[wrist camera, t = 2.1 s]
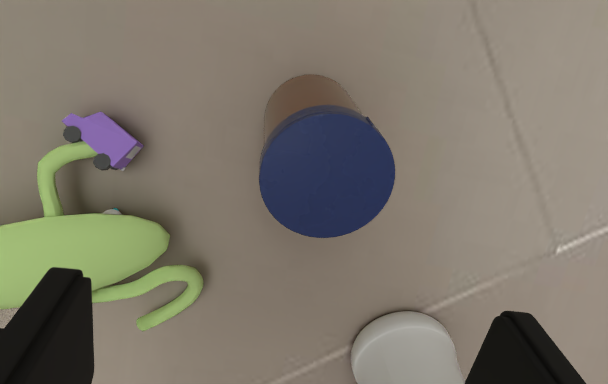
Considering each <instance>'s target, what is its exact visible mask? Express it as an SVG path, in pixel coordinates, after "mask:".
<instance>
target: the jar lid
mask: <svg viewBox="0 0 608 384" xmlns="http://www.w3.org/2000/svg"><path fill="white" fill-rule="evenodd" d="M394 180H395V164H394V159H393V155H392V152H391V150H390V148H389V146H388V144H387V142H386V141H385V139H384V138H383V136H382V135H381V133H380V132H379V131H378V129H377V128H376V127H375V126H374V124H373V123H372V122H371V120H370V119H369V118H368V117H364V116H363V115H361V114H360V113H358V112H356V111H354V110H352V109H349V108H346V107H342V106H336V105H318V106H313V107H308V108H305V109H302V110H300V111H298V112H296V113H294V114H292V115H290V116H289V117H287V118H286V119H284V120H283V121H282V122H281V123H280V124H278V125H277V127H276V128H275V129H274V130H273V131H272V132H271V134H270V135H269V137H268V138H267V140H266V143H265V145H264V147H263V150H262V153H261V158H260V172H259V184H260V191H261V195H262V198H263V200H264V203H265V205H266V207H267V208H268V210H269V212H270V213H271V214H272V215H273V217H274V218H275V219H276V220H277V221H279V222H280V223H281V224H282V225H284V226H285V227H286V228H288V229H290V230H292V231H294V232H296V233H299V234H301V235H305V236H309V237H316V238H329V237H337V236H342V235H345V234H348V233H351V232H353V231H355V230H358V229H359V228H361V227H363V226H364V225H366V224H367V223H369V222H370V221H371V220H372V219H373V218H374V217H376V216H377V215H378V213H379V212H380V211H381V210H382V209H383V207H384V206H385V204H386V203H387V201H388V199H389V197H390V195H391V192H392V189H393V185H394Z"/></svg>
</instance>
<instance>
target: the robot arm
mask: <svg viewBox="0 0 608 384" xmlns="http://www.w3.org/2000/svg"><path fill="white" fill-rule="evenodd" d="M93 374H94V347H93V315H92V283H91V279H90V278H89V277H83V272H82V270H79V269H69V268H59V267H52V268H50V269H49V270H48V271H47V272H46V274H45V275H44V276H43V278H42V279H41V280H40V282H39V283H38V284H37V286H36V287H35V288H34V290H33V291H32V292H31V294H30V295H29V296H28V298H27V299H26V300H25V302H24V303H23V304H22V306H21V307H20V308H19V310H18V311H17V312H16V314H15V315H14V316H13V318H12V319H11V320H10V322H9V323H8V324H7V326H6V327H5V328H4V329H2V328H0V384H91V383H92V379H93ZM465 384H586V383H585V382H584V380H583V379H582V378H581V376H580V375H579V374H578V373H577V371H576V370H575V369H574V368H573V366H572V365H571V364H570V362H569V361H568V360H567V359H566V357H565V356H564V355H563V353H562V352H561V351H560V350H559V348H558V347H557V346H556V345H555V343H554V342H553V341H552V339H551V338H550V337H549V336H548V334H547V333H546V332H545V331H544V329H543V328H542V327H541V325H540V324H539V323H538V322H537V320H536V319H535V318H534V317H533V316H532V315H531V314H529V313H524V312H514V311H504V312H502V313H501V315H500V316H497V317H496V318H495V319H494V320H493V322H492V324H491V327H490V329H489V331H488V333H487V335H486V338H485V340H484V342H483V344H482V346H481V349H480V351H479V353H478V355H477V357H476V360H475V362H474V364H473V366H472V368H471V371H470V373H469V375H468V377H467V379H466V381H465Z"/></svg>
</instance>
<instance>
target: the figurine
mask: <svg viewBox="0 0 608 384" xmlns="http://www.w3.org/2000/svg"><path fill="white" fill-rule="evenodd" d="M62 122H63V123H64V124H65V125H67V126H68V127H67V128H66V129H65V130H64V133H63V136H64V137H65V139H66V140H67V141H70V142H72V144H67V145H63V146H60V147H58V148H56V149H54V150H52V151H50V152H49V153H48V154H47V155H46V156H45V157H43V158H42V159H41V160H40V161H39V162H38V170H37V180H38V187H39V193H40V197H41V201H42V204H43V211H44V217H43V218H38V219H33V220H28V221H23V222H17V223H12V224H7V225H2V226H0V309H9V308H17V307H21V306H22V304H23V303H24V302H25V300H26V299H27V298H28V296H29V295H30V294H31V292H32V291H33V290H34V288H35V287H36V286H37V284H38V283H39V282H40V280H41V279H42V278H43V276H44V275H45V274H46V272H47V271H48V270H49V269H50V268H52V267H59V268H69V269H79V270H82V272H83V277H89V278H90V279H91V283H92V303H99V302H108V301H113V300H119V299H125V298H131V297H135V296H139V295H142V294H144V293H146V292H148V291H150V290H151V289H153V288H155V287H156V286H158V285H160V284H163V283H165V282H168V281H186V282H187V283H188V286H187V288H186V290H185V291H184V292H183V293H182V294H181V295H180V296H179V297H177V298H176V299H174V300H173V301H172V302H170V303H168V304H167V305H165V306H163V307H161V308H159V309H157V310H155V311H153V312H151V313H149V314H146V315H144V316H142V317H140V318H138V319H137V320H136V321H137V326H138V328H139V329H140V330H142V331H145V330H148V329H150V328H152V327H154V326H156V325H158V324H160V323H162V322H164V321H166V320H168V319H170V318H172V317H173V316H175V315H177V314H179V313H180V312H181V311H183V310H184V309H186V308H187V307H189V306H190V305H191V304H192V303H193V302H194V301H195V300H196V299H197V297H198V296H199V295H200V292H201V290H202V287H203V284H204V283H203V278H202V276H201V274H200V273H199V272H198V271H197V270H196V268H194V267H190V266H185V265H170V266H164V267H161V268H159V269H156V270H154V271H152V272H150V273H149V274H147V275H145V276H144V277H142V278H140V279H138V280H136V281H133V282H131V283H127V284H122V285H115V286H109V287H105V286H108V285H111V284H114V283H117V282H119V281H121V280H123V279H125V278H127V277H129V276H131V275H132V274H134V273H136V272H138V271H140V270H142V269H144V268H146V267H148V266H149V265H150V264H152V263H153V262H154V261H155V260H156V259H157V258H158V257H159V256H161V255H162V254H163V253H164V252H165V251H166V250H167V247H168V243H169V238H170V235H169V234H168V233H167V232H166V230H165V229H164V228H163V227H162V226H161V225H160V224H159V223H156V222H153V221H150V220H146V219H143V218H140V217H136V216H133V215H122V214H121V213H120V212H119V210H118V209H116V208H113V209H108V210H106V211H105V212H103V213H102V214H101V213H90V214H77V215H65V216H64V213H63V208H62V204H61V201H60V198H59V195H58V192H57V188H56V185H55V173H56V172H57V171H58V170H59V169H60V168H61V167H62V166H63V165H65V164H67V163H70V162H72V161H74V160H79V159H84V158H90V157H94V161H93V163H94V165H95V167H97V168H98V169H100V170H108V169H109V168H111V169H114V170H117V169H120V170H122V171H124V170H125V169H126V168H125V167H126V166H127V165H128V163H129V162H130V161H131V160H132V159H133V158H134V157H135V156H136V154H137V153H138V152H139V151H140V150H141V149H142V148H143V146H144V145H142V144H141V143H140V142H139V141H138V140H136V139H135V138H134V137H133V136H132V135H130V134H129V133H128V132H127V131H126V130H124V129H123V128H122V127H121V126H119V125H118V124H117V123H116V122H115V121H113V120H112V119H111V118H110V117H108V116H107V115H105V114H104V113H102V112H98V113H95V114H93V115H90V116H87V117H85V118H82V117H79V116H77V115H74V114H72V113H71V114H70V115H68V116H67V117H66V118H65V119H63V120H62ZM79 141H80V142H79Z"/></svg>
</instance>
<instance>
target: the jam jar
mask: <svg viewBox="0 0 608 384" xmlns="http://www.w3.org/2000/svg"><path fill="white" fill-rule="evenodd" d="M318 105H336V106H342V107H346V108H349V109H352V110H354V111H356V112H358V113H360V114H361V115H362V113H361V112H360V110H359V109H358V107H357V106H356V104H355V103H354V101H353V100H352V98H351V97H350V95H349V94H348V92H347V91H346V90H345V89H344V88H343V87H342V86H341V85H340V84H339V83H337V82H336V81H334V80H332V79H330V78H328V77H325V76H321V75H302V76H298V77H295V78H292V79H290V80H288V81H286V82H285V83H284V84H282V85H281V86H280V87H279V88H278V89H277V90H276V91H275V92H274V93H273V95H272V96H271V98H270V99H269V101H268V104H267V106H266V110H265V115H264V145H265V143H266V140H267V138H268V137H269V135H270V134H271V132H272V131H273V130H274V129H275V128H276V127H277V125H278V124H280V123H281V122H282V121H283V120H284V119H286V118H287V117H289V116H290V115H292V114H294V113H296V112H298V111H300V110H302V109H305V108H308V107H313V106H318Z"/></svg>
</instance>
